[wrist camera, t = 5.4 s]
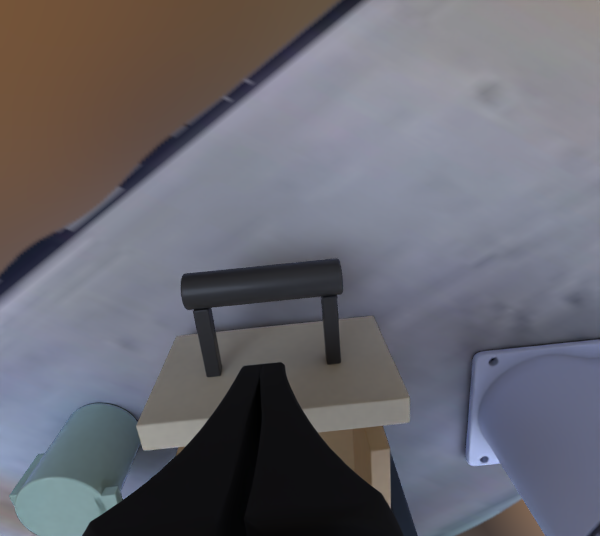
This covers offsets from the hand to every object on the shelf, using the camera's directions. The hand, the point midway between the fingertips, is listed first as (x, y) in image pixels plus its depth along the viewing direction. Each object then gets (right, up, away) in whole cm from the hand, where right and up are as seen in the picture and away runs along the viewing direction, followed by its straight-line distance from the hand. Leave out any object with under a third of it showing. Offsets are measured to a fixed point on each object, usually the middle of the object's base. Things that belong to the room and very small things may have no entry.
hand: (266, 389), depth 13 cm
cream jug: (-10, -5, +10) cm, 15 cm away
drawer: (0, -2, +9) cm, 9 cm away
